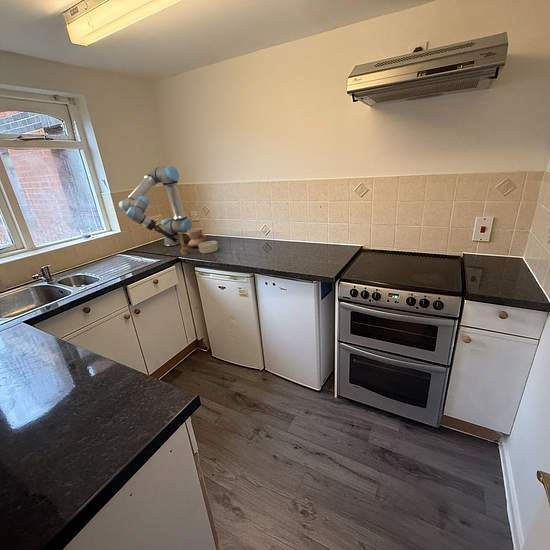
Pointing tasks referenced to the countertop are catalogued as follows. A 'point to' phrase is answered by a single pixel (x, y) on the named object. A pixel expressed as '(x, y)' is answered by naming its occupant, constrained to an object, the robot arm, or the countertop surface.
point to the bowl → (208, 247)
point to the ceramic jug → (196, 237)
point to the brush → (182, 245)
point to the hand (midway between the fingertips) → (174, 239)
